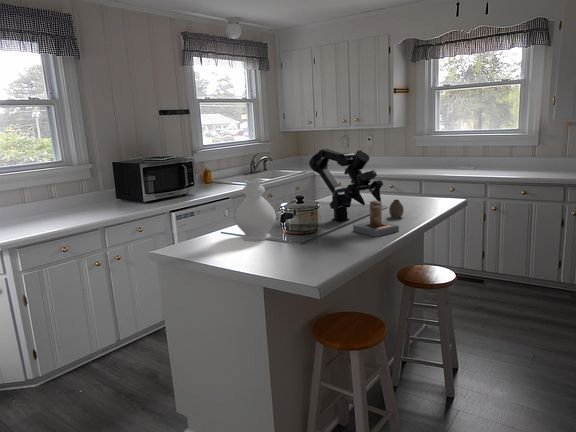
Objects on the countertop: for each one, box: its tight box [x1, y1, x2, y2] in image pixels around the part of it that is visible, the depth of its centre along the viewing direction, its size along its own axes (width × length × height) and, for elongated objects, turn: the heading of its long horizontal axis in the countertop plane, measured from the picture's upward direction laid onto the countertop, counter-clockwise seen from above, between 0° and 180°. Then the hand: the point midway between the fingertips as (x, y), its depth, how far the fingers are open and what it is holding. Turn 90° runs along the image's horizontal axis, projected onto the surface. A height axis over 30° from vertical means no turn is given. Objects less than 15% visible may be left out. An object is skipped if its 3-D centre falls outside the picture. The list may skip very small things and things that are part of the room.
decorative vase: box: [234, 179, 277, 242], centre depth 201 cm, size 18×18×25 cm
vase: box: [388, 198, 404, 219], centre depth 228 cm, size 7×7×9 cm
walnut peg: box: [369, 200, 383, 228], centre depth 204 cm, size 5×5×13 cm
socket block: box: [352, 221, 400, 238], centre depth 205 cm, size 14×14×3 cm
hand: (372, 203), depth 205 cm, fingers open, 9 cm apart
